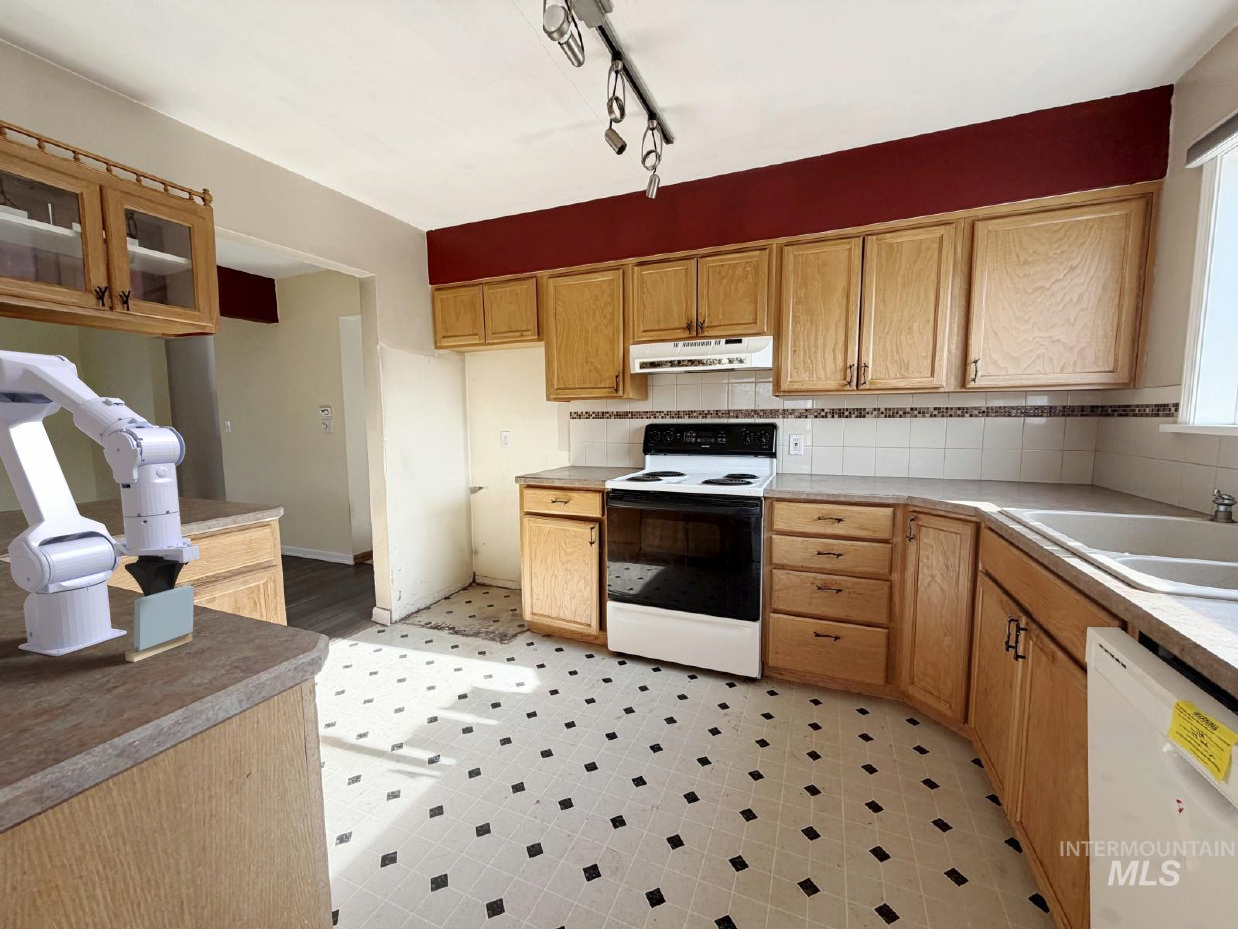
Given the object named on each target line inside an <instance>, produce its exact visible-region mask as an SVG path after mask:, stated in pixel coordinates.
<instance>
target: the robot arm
mask: <svg viewBox="0 0 1238 929" xmlns="http://www.w3.org/2000/svg"><path fill="white" fill-rule="evenodd" d="M61 407H63V408H64V409H65V410H66V411H68V412H71V413H72V421H73V424H74V426H75V427H76V428H77V429H79V430H80V431H81V432H83V433H84V434H86V435H87V436H88V437H90V438H91V440H93V441H95V442H96V443H98V444H99V445H100V446H102V447H103V448H104V449H103V455H104V458H105V461H106V462H107V463H108V465H109V466H110V468H111V472H112V477H113V480H114V481H115V483H117V484H119V489H120V497H121V498H120V499H121V508H122V509H121V510H122V518H123V529H124V530H123V531H124V537H125V538H124V539H125V541H119V542H117V540H115V539H114V538H113V537H112V536H111V534H110V533H109V531H108V529H107V528H106V524H103V523H102V522H100V521H99V522H98V521H96V520H93V519H91V518H87V517H85V516H82V515H81V514H80V512H79V510H78V509H79V508H78V507H77V505H76V502H75V500H74V497H73V495H72V492H71V489H70V487H69V485H68V483H67V480H66V477H65V475H64V473H63V471H62V467H61V465H60V463H59V461H58V458H57V456H56V454H55V451H54V448H53V446H52V444H51V441H50V439H49V435H48V434H47V432H46V429H45V427H44V424H43V420H44V418H45V417H49V416H51V415H55V414H56V413H58V411H60V409H61ZM184 441H185V440H184V438H183V436H182V435H181V434H180V433H179V432H178V431H177V430H176V429H175V428H174V427H172V426H159V425H153V424H152V423H150V422H148V419H145V418H144V417H142V416H141V415H139V414H138V413H136V412H134V411H133V409H131V408H129V407H128V406H127V405H125V401H124V400H122V399H120V398H118V397H107V396H105V397H104V396H103V397H100V396H99V395H98V394H97V393H95V392H94V391H93V390H92V389H91V388H90V387H89V386H88V385H87V384H86V383H85V382H84V381H82V380H81V379H80V378H79V376H78V370H77V366H76V364H75V363H73V362H71V361H70V360H69V359H68V358H67V357H66V356H63V355H60V354H51V355H50V354H42V353H33V352H24V351H23V352H22V351H13V350H12V351H11V350H2V349H0V458H1V461H2V463H3V466H4V467H5V470H6V473H7V475H8V478H9V481H10V483H11V485H12V488H13V491H14V493H15V496H16V498H17V500H18V502H19V504H20V508H21V510H22V512H23V515H24V517H25V519H26V522H27V524H28V527H27V528H26V529H25V530H23V532H21V533H20V534H19V535H18V536H17V537H15V538H14V539H13V540H12V541H11V542H10V543H9V545H8V547H7V552H8V556H9V560H10V566H9V568H10V574H11V578H12V579H13V581H14V583H15V584H16V585H17V586H18V587H20V588H21V589H23V590H25V591H26V592H28V593H29V594H28V596H27V597H26V598H25V600H24V603H23V614H24V622H25V631H26V638H27V642H26V643H21V644H20V645H18V649H20V650H24V651H28V652H33V653H38V654H43V655H47V656H52V657H60V656H64V655H66V654H70V653H72V652H75V651H79V650H82V649H84V648H88V647H91V646H94V645H97V644H99V643H103V642H106V641H109V640H112V639H115V638H118V637H121V636H124V635H127V632H128V631H127V630H122V629H118V628H112V623H111V621H112V620H111V611H110V610H111V608H110V602H109V601H110V600H109V590H108V582H107V580H109V579H112V578H113V573H114V572H115V571H116V570H118V568H119V566H120V564H121V562H122V557H124V556H126V557H136V558H137V559H136V561H134V562H130V563H126V564H124V570H125V571H126V572H128V574H130V575H131V576H132V578H133V579H134V580H135V581H136V583H137V585H138V587H139V588H140V589H141V591H142V593H143V597H146V596H150V595H153V594H157V593H161V592H164V591H168V590H172V589H175V587H176V583H177V580H178V578H179V575H180V573H181V571H182V569H184V568H183V567H184V566H185V564H186V563H188V562H193V561H197V560H200V547H199V545H195V544H191V543H192V539H191V538H189V537H182V536H183V535H182V525H181V524H182V523H181V514H180V502H179V490H178V479H177V470H176V467H177V466H179V465H180V464H181V463H182V462H183V460H184V458H185V454H186V445H185V444H186V443H185V442H184Z"/></svg>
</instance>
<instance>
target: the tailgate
mask: <svg viewBox="0 0 1238 929" xmlns="http://www.w3.org/2000/svg"><path fill="white" fill-rule="evenodd" d="M194 600H195V586H193V585H189V584H187V585H183V586H180V587H179V586H178V587H176V588H175V587H174V589H172V590H168V591H164V592H161V593H157V594H153V595H150V596H146V597H145V596H143V597H139V598H136V599H134V601H133V602H134V606H133V607H134V609H133V610H134V612H133V613H134V614H133V615H134V618H133V623H134V624H133V625H134V626H133V630H134V631H133V649H135V651H136V652H140V651H142V650H145V649H148V648H151V647H154V646H156V645H159V644H162V643H165V642H167V641H170V640H173V639H176V638H178V637H181V636H184V635H187V634H189V633H192V634H193V632H194V607H195V606H194V605H195V604H194V603H195V602H194Z"/></svg>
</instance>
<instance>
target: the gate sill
mask: <svg viewBox="0 0 1238 929" xmlns="http://www.w3.org/2000/svg"><path fill="white" fill-rule="evenodd" d="M192 641H193V632H192V633H189V634H187V635H184V636H181V637H178V638H176V639H173V640H170V641H167V642H165V643H162V644H159V645H156V646H154V647H151V648H148V649H145V650H142V651H140V652H136V651H135V648H133V649H130V650H127V651H125V652H124V656H125V661H127V662H132V663H136V662H138V661H141V660H143V659H146V658H150V657H152V656H154V655H157V654H160V653H163V652H165V651H169V650H170V649H173V648H176V647H179V646H182V645H183V644H187V643H189V642H192Z"/></svg>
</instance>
